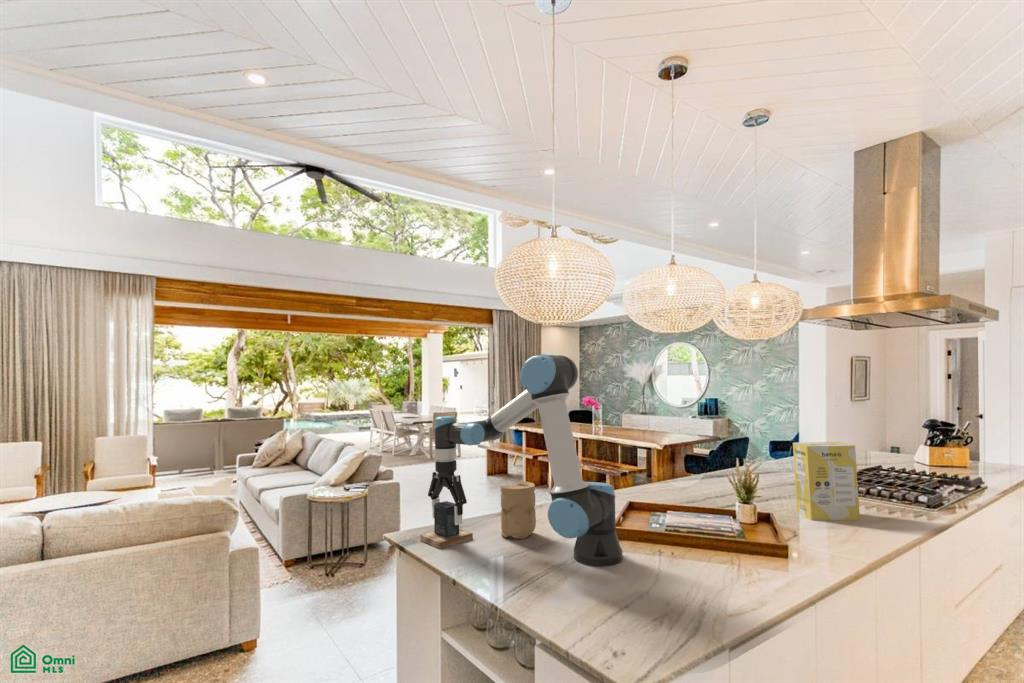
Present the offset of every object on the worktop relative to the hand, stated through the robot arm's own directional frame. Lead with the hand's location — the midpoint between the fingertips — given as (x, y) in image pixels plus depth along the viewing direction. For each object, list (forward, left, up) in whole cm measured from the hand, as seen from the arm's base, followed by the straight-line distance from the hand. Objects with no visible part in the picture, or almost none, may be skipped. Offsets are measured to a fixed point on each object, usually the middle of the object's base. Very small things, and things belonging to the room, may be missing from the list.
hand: (447, 520), depth 178 cm
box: (0, 0, -5) cm, 5 cm away
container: (-15, -21, -7) cm, 26 cm away
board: (0, 0, -7) cm, 7 cm away
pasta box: (-86, -121, -7) cm, 148 cm away
